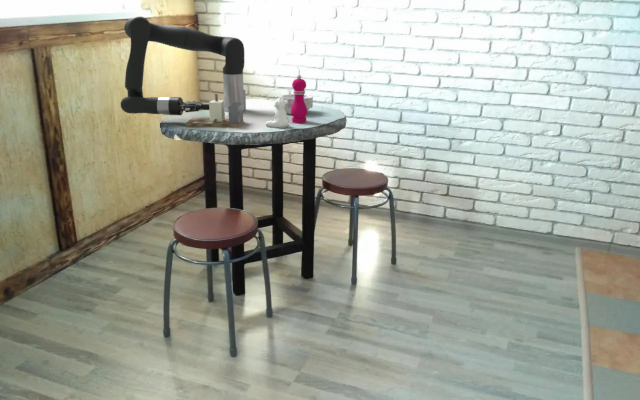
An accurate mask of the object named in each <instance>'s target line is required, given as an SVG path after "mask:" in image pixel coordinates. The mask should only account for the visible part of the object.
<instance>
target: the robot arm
mask: <svg viewBox="0 0 640 400" xmlns="http://www.w3.org/2000/svg"><path fill="white" fill-rule="evenodd" d="M123 30H124V32H125V34H126V36H127V37H129V39H130V49H129V50H130V51H129V55H128V60H127V63H126V70H125V77H124V78H125V79H124V87H125V89H126V90H127V96H125V97H124V98H122V99H121V102H120V108H121V110H122V111H123V112H125V113H127V114H147V115H148V114H150V115H162V116H182V115H183V113H184V112H185V113H193V112H201V111H210V110H209V103H203V102H200V101H195V100H193V101H190V100H187V101H185V102H184V100H183V98H182V97H179V96H162V97H160V96H159V97H158V96H157V97H156V96H151V97H148V96H147V97H144V92H143V84H144V70H145V60H146V55H147V54H146V53H147V48H148V44H149V42H151V43H152V42H153V43H159V44H163V45H165V46H166V45H167V46H169V47H173V48H177V49H181V50H185V51H186V50H187V51H190V52H191V51H193V52H208V53H214V54H216V55H219V56H222V57H225V58H224V59H225V63H224V66H223V67H222V80H223V81H222V82H223V83H222V84H223V100H224V109H225V112H228V107H229V106H230V105H231V104H232V103H243V112H244V111H247V101H246V100H247V99H246V96H247V95H246V90H245V88H244V70H245V69H244V68H245V47H244V43H243V41H242V40H241V39H239V38H237V37H233V36H232V37H231V36H217V35H212V34H208V33H206V32H203V31H200V30H197V29H194V28H190V27H185V26H179V25H165V24H164V25H163V24H155V23H152V22H150V21H149V20H148V19H147V18H145V17H144V16H140V15H139V16H133V17H130V18H129V19H128V20H126V22H125V24H124V27H123Z"/></svg>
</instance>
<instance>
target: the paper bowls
mask: <svg viewBox="0 0 640 400" xmlns="http://www.w3.org/2000/svg"><path fill="white" fill-rule="evenodd" d="M279 98H283V99H284V101H285V100H288V103H286V104H285V108H284V110H285V111H286V113H287V114H288V115H292V114H291V108H292V105H293V103H294V99H295V96H294V94H293V93H292V94H291V93H290V94H282V95H280V96H279ZM313 100H314V99H313V96H312V95H309V94H304V102H305V105H306V107H307V112H309V110H310V109H312V108H313V105H314V104H313Z"/></svg>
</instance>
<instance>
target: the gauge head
mask: <svg viewBox="0 0 640 400" xmlns="http://www.w3.org/2000/svg"><path fill="white" fill-rule="evenodd" d="M218 96H219V95H218V93H215V94H214V97H215V98H214V99H211V101H208V104H209V110H208V111H209V118H210V122H222V121H223V120H225V119H226V115H225V113H226V111H225V107H224V99H222V100H221V99H218V98H219V97H218Z"/></svg>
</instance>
